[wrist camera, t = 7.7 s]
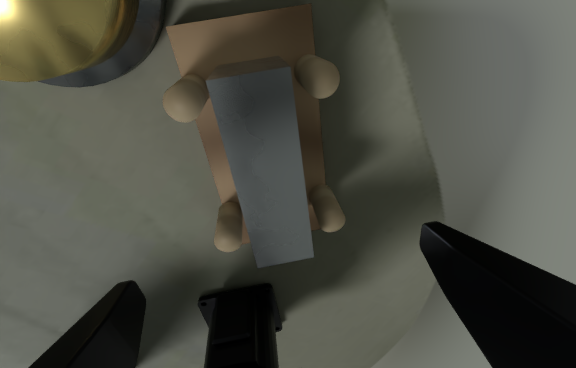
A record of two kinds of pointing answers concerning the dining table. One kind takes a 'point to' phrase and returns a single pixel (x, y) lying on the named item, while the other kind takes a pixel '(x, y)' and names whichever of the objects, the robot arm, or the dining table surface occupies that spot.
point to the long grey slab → (264, 155)
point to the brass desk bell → (122, 50)
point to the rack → (307, 91)
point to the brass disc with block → (61, 35)
